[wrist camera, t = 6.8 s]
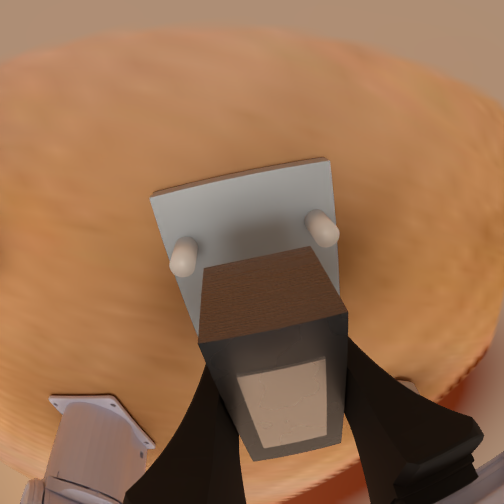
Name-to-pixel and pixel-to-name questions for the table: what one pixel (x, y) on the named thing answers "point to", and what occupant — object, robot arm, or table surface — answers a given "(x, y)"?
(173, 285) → the table surface
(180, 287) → the grey mounting plate
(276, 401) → the block
